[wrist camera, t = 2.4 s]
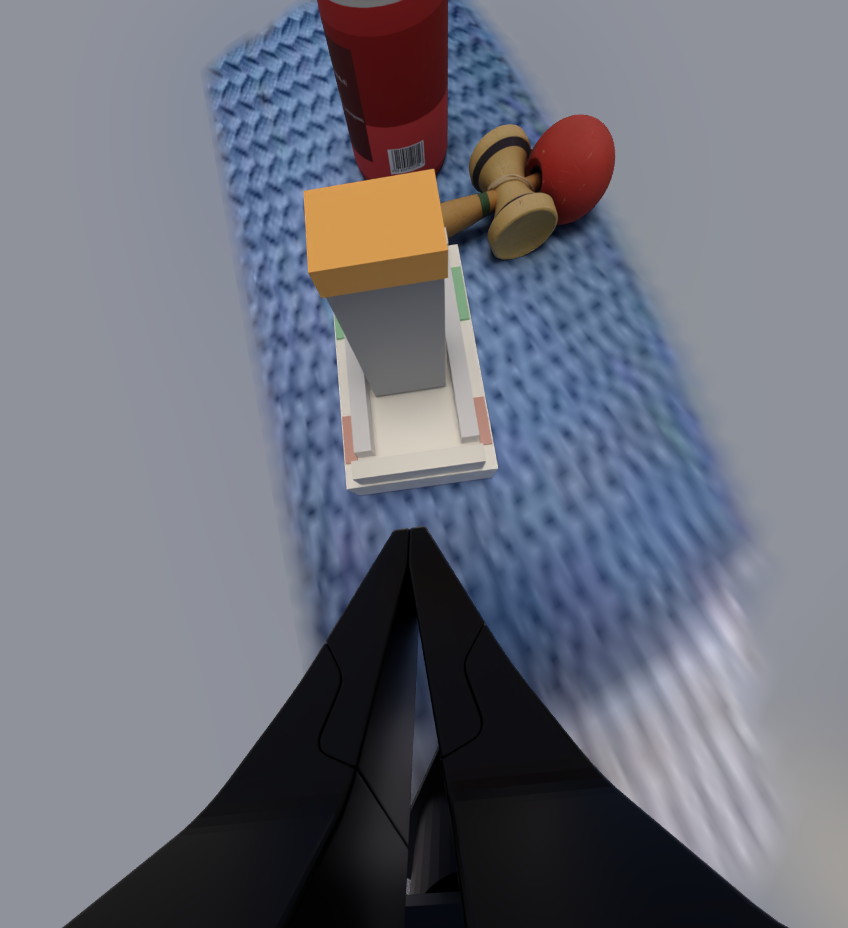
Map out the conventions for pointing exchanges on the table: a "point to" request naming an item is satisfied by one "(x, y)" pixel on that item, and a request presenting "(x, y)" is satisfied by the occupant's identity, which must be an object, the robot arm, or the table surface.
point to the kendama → (534, 183)
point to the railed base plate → (419, 413)
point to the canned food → (391, 80)
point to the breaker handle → (384, 274)
